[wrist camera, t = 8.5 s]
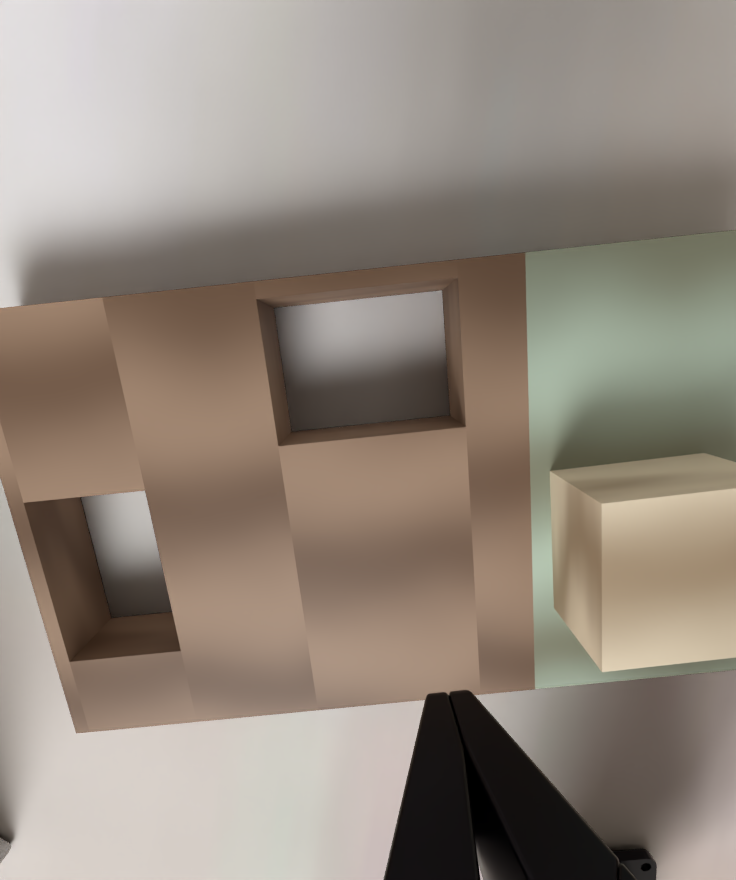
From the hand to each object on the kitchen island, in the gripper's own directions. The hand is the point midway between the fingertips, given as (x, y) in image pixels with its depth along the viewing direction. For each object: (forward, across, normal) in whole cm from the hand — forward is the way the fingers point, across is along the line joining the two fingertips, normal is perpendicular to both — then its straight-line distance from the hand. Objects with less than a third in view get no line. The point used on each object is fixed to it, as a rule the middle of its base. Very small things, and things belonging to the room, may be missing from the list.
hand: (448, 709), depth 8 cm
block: (+6, -7, 0) cm, 9 cm away
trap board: (+9, 0, -2) cm, 9 cm away
